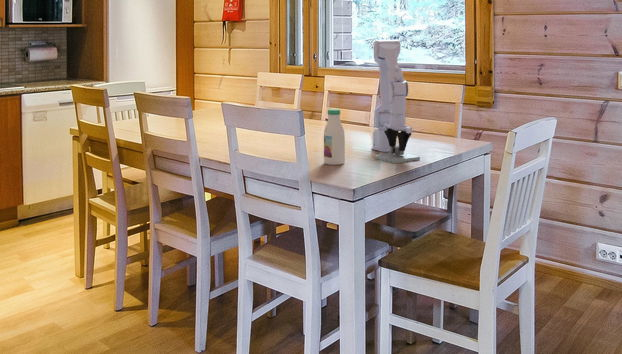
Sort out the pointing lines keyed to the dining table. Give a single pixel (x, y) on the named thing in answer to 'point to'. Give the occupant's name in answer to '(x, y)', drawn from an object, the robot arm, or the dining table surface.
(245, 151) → the dining table surface
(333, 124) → the milk bottle
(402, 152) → the split ring
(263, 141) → the dining table surface
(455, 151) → the dining table surface
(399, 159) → the stand
